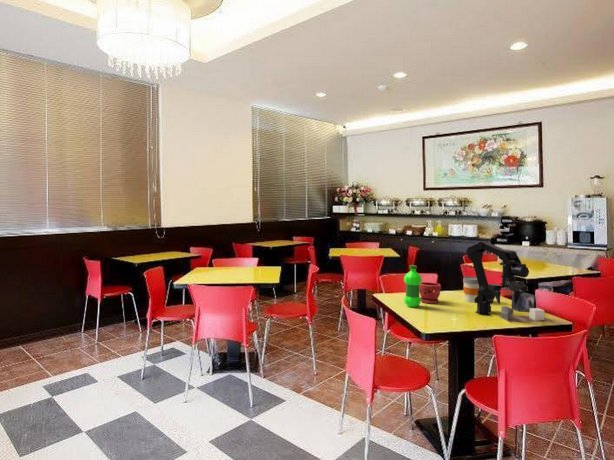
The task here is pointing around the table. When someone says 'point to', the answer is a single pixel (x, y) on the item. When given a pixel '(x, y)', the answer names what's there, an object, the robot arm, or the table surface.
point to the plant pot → (429, 292)
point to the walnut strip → (508, 315)
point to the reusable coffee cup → (470, 288)
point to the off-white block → (536, 314)
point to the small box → (523, 302)
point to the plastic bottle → (412, 287)
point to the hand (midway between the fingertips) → (507, 303)
